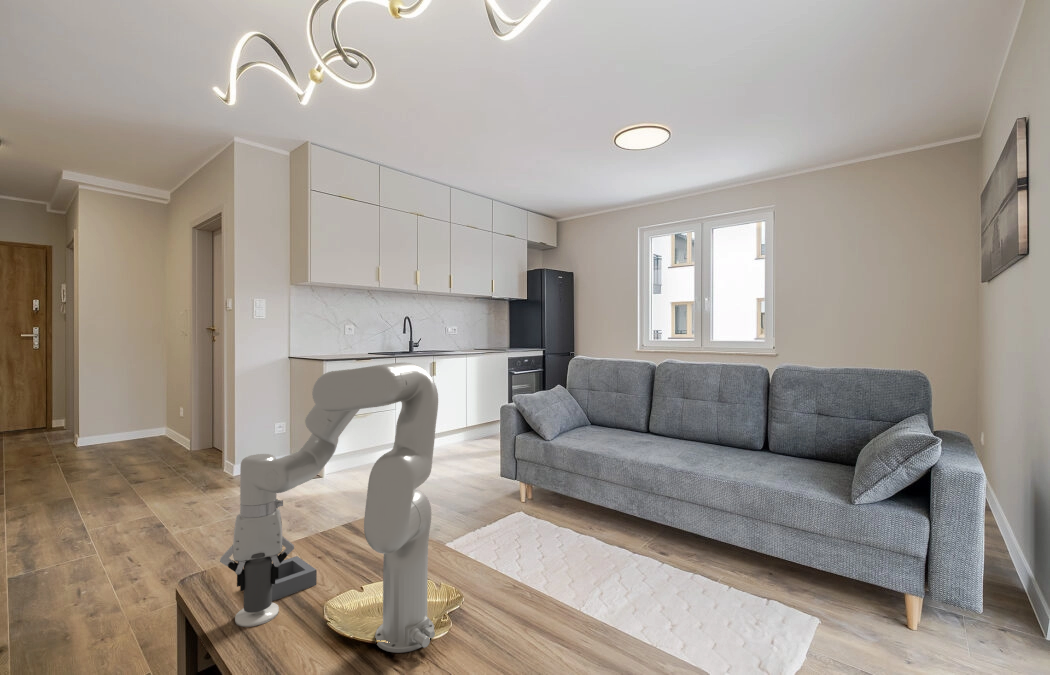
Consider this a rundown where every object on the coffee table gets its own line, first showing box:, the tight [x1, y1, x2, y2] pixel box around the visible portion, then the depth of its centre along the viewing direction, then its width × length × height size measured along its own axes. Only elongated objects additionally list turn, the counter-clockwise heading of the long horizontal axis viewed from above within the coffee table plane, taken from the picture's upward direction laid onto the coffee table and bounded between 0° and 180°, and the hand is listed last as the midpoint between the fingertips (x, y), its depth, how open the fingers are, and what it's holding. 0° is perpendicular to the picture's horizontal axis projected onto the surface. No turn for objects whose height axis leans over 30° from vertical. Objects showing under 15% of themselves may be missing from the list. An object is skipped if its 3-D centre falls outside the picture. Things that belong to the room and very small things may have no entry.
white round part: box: [234, 602, 280, 628], centre depth 115 cm, size 9×9×1 cm
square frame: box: [272, 555, 318, 602], centre depth 130 cm, size 12×12×4 cm
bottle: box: [243, 553, 273, 613], centre depth 115 cm, size 6×6×15 cm
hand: (258, 584), depth 115 cm, fingers closed on bottle, 5 cm apart
